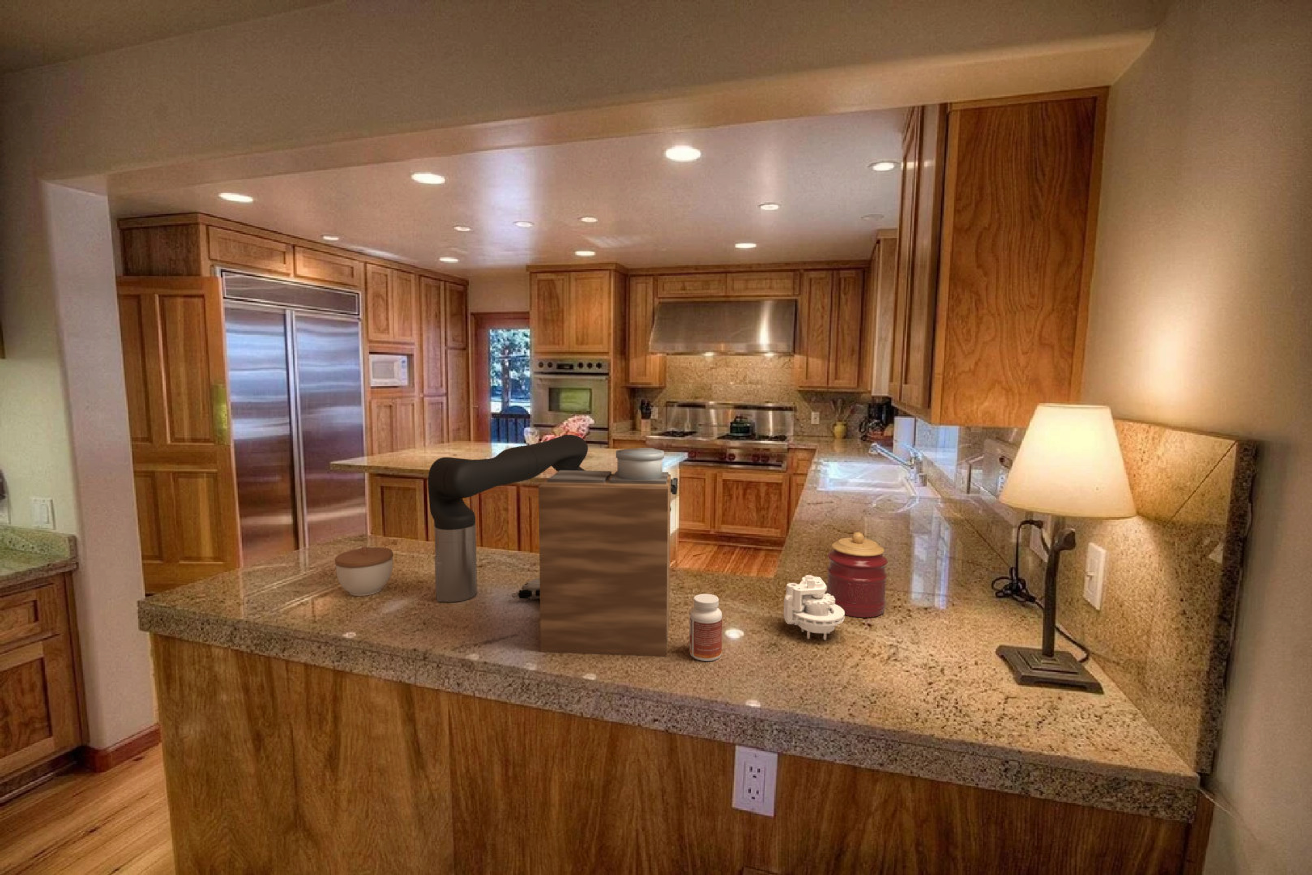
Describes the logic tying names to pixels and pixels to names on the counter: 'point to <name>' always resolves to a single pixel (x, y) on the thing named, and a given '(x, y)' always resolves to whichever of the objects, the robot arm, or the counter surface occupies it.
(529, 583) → the robot toy
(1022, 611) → the counter surface
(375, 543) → the counter surface
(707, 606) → the pill bottle
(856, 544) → the canister
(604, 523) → the wooden box
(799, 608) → the mechanical part
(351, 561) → the lidded bowl
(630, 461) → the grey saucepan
